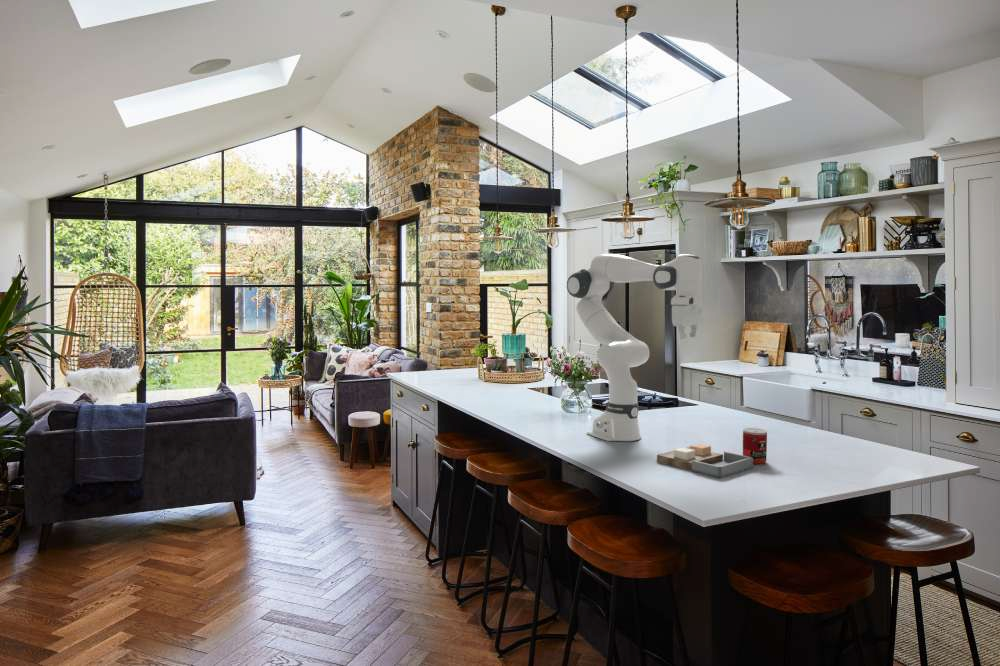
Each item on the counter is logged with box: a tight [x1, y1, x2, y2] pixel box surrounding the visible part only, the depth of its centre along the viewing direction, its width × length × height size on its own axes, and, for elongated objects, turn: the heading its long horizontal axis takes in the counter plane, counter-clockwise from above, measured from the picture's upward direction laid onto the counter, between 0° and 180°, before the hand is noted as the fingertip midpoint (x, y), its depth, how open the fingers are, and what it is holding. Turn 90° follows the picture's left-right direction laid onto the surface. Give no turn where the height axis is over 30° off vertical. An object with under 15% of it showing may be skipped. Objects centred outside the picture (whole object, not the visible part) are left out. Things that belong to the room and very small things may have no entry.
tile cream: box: [673, 447, 695, 460], centre depth 223 cm, size 5×5×2 cm
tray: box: [691, 451, 754, 479], centre depth 217 cm, size 10×19×4 cm, turn 128°
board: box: [656, 446, 724, 472], centre depth 227 cm, size 14×18×2 cm
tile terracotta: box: [689, 443, 712, 456], centre depth 228 cm, size 5×5×2 cm
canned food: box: [742, 427, 768, 466], centre depth 226 cm, size 8×8×11 cm
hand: (687, 338), depth 235 cm, fingers open, 8 cm apart
